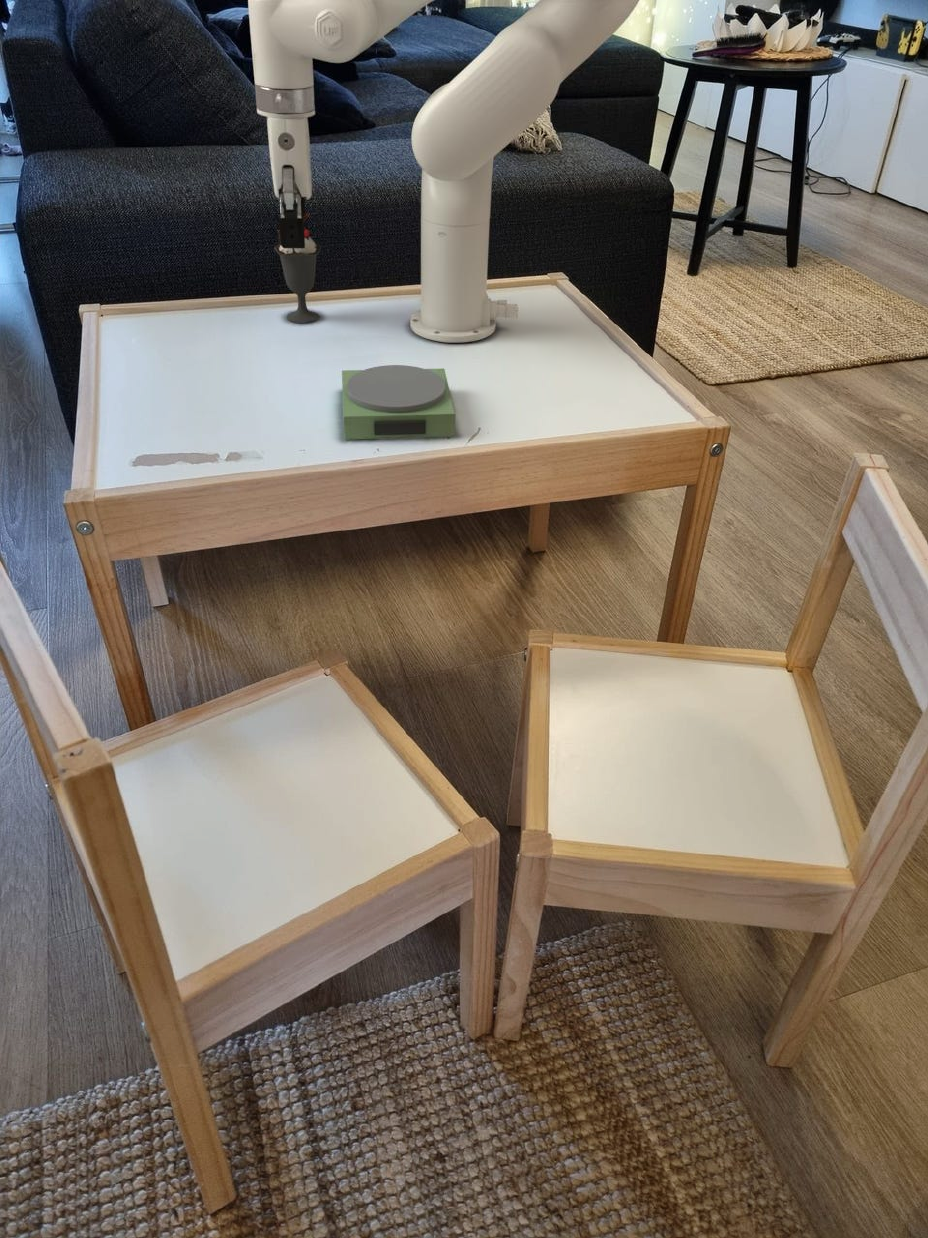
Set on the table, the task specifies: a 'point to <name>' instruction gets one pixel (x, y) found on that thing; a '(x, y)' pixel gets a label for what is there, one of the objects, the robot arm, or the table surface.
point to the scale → (397, 403)
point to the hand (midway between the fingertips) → (294, 236)
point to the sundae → (300, 274)
